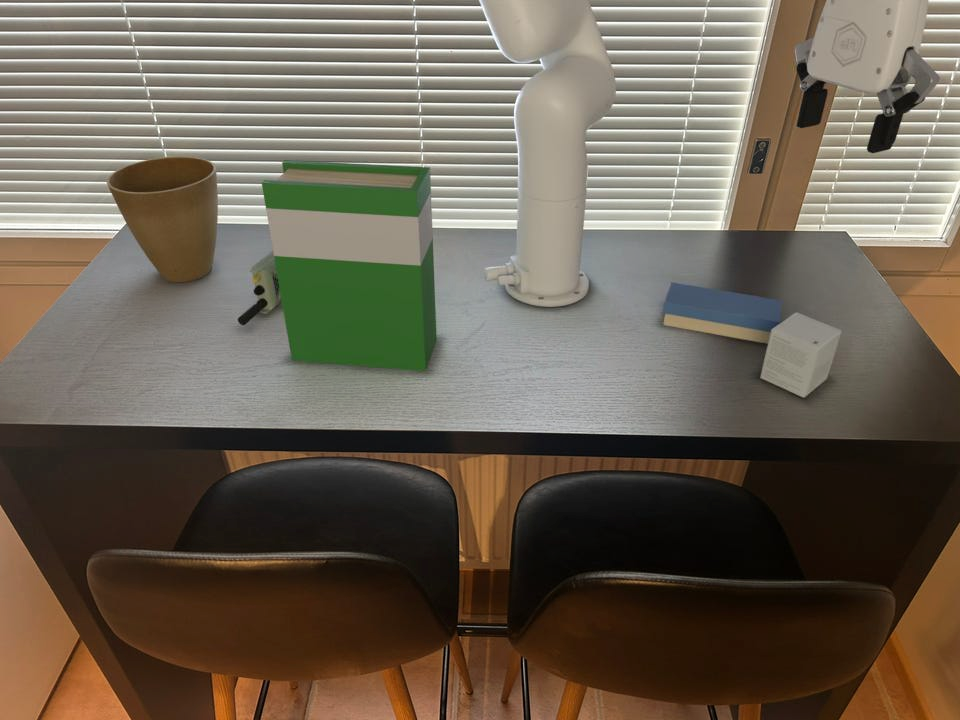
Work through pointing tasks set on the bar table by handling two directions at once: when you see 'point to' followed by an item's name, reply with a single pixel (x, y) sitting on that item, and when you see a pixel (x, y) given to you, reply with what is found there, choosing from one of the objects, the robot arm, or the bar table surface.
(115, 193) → the plant pot
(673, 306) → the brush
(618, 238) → the bar table surface
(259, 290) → the handheld radio
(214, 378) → the bar table surface
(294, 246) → the hardback book
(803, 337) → the product box
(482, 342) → the bar table surface
